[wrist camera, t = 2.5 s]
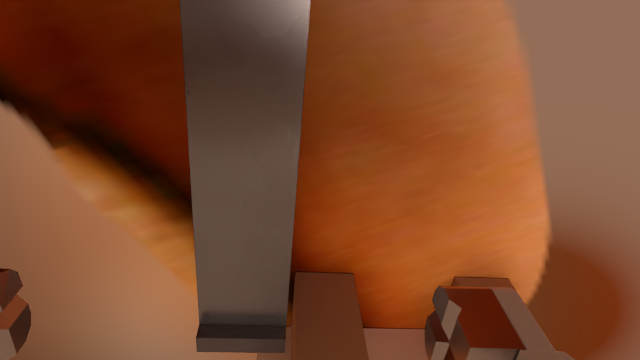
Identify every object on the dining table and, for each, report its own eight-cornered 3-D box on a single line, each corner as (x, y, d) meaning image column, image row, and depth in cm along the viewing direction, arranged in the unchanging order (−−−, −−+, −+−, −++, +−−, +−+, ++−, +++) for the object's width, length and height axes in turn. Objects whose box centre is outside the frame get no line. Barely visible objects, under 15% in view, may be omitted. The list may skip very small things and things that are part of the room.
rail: (204, -146, 14) (160, -188, 9) (314, -133, 14) (325, -167, 9) (216, 265, 22) (196, 351, 17) (286, 268, 22) (284, 352, 18)
